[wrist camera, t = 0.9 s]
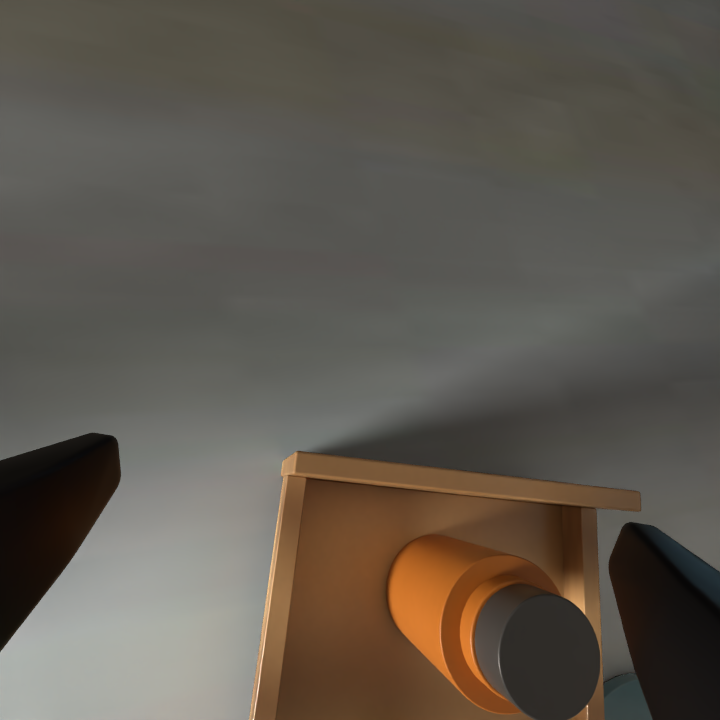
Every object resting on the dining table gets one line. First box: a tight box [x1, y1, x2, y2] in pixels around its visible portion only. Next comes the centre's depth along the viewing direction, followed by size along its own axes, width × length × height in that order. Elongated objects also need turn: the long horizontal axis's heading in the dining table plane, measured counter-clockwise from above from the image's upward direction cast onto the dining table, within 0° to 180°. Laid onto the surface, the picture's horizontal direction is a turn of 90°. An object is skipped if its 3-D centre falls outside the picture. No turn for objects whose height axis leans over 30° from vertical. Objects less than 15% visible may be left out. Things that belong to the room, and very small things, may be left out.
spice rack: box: [249, 451, 641, 720], centre depth 18 cm, size 19×14×8 cm
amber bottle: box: [386, 534, 600, 720], centre depth 16 cm, size 4×4×8 cm
